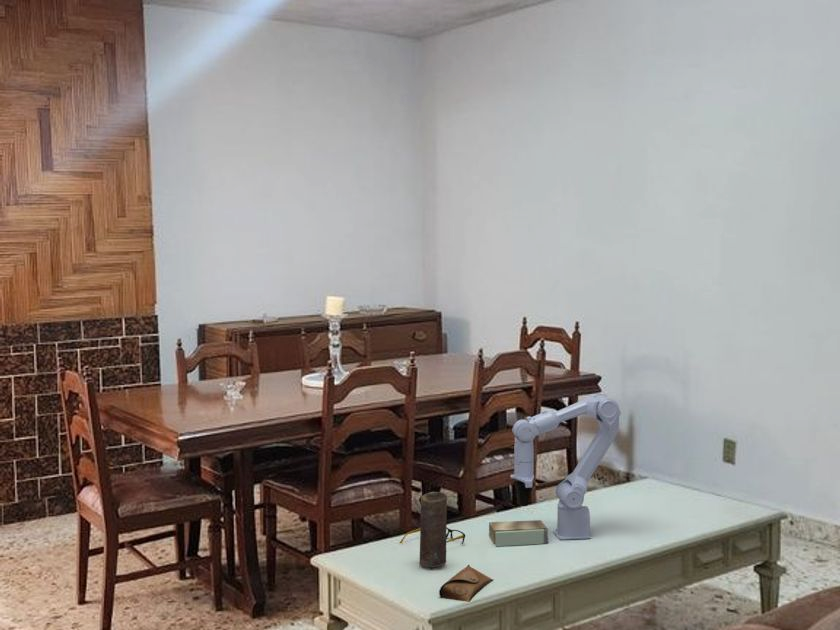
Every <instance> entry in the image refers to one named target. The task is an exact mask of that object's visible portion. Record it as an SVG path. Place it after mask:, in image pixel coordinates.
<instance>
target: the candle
mask: <svg viewBox="0 0 840 630" xmlns="http://www.w3.org/2000/svg"><path fill="white" fill-rule="evenodd" d="M447 498H448V496H447V494H446V493H444V492H442V491H431V492H427V493H425V494H423V495H421V496H420V523H419V524H420V525H419V528H420V530H419V532H420V534H419V535H420V536H419V565H421V566H425V567H426V568H429V569H433V568H437V567H440V566H443V565H446V563H447V543H446V541H447V538H446V535H447V529H446V527H447V519H448V518H447V515H448V514H447V513H448V512H447V510H448V509H447V508H448V507H447V505H448V503H447V502H448V500H447Z"/></svg>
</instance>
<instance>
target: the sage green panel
mask: <svg viewBox="0 0 840 630" xmlns="http://www.w3.org/2000/svg"><path fill="white" fill-rule="evenodd" d="M548 543H549V529H548V528H547V529H545V530H544V529H537V530H520V531H503V532H495V544H494V545H495V547H511V546H523V545H524V546H525V545H526V546H527V545H538V544H539V545H540V544H548Z"/></svg>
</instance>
